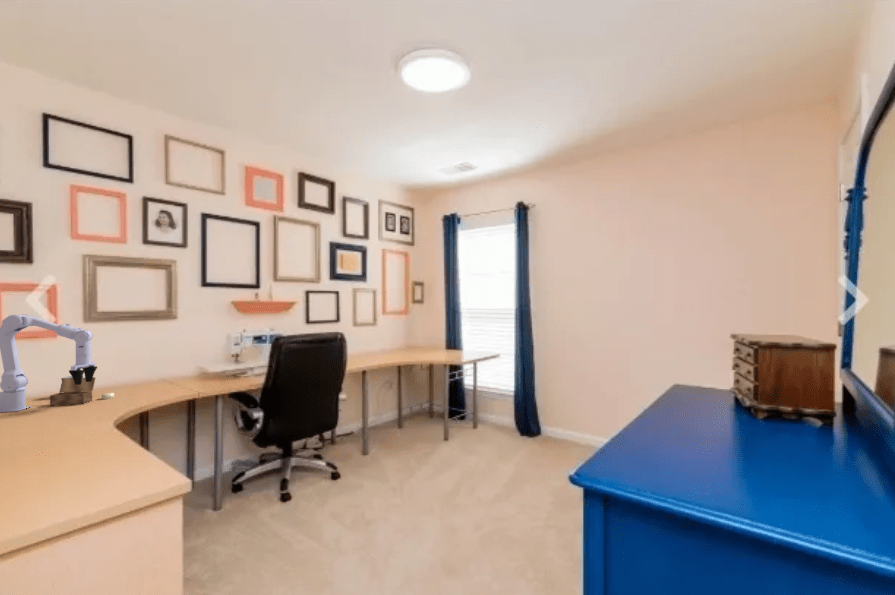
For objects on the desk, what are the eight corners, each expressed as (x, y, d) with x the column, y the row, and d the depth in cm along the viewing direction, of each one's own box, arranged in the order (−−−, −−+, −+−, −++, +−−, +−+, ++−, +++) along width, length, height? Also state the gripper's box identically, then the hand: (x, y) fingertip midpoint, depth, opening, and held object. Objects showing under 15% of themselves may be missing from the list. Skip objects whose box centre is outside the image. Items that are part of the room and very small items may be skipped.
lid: (62, 378, 211) (63, 378, 212) (59, 392, 209) (60, 392, 209) (94, 377, 214) (95, 377, 214) (92, 390, 211) (92, 390, 212)
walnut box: (50, 406, 202) (50, 395, 202) (59, 402, 209) (59, 392, 209) (83, 404, 205) (83, 393, 205) (92, 401, 211) (91, 391, 211)
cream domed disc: (98, 400, 214) (98, 395, 215) (105, 397, 220) (105, 393, 220) (110, 399, 215) (110, 394, 215) (116, 397, 221) (116, 392, 221)
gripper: (82, 356, 199) (82, 385, 199) (102, 353, 214) (102, 380, 213) (65, 357, 198) (65, 386, 198) (86, 353, 212) (86, 380, 212)
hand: (83, 383), depth 206 cm, fingers open, 7 cm apart
